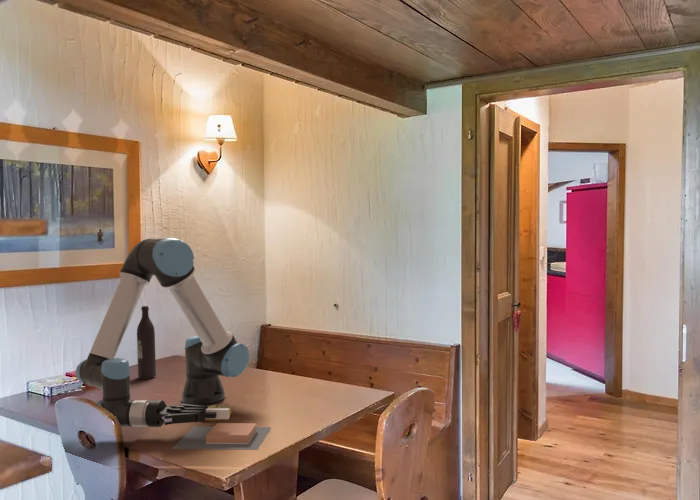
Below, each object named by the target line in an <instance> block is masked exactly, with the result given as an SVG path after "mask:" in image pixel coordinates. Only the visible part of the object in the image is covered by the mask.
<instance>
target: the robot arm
mask: <svg viewBox="0 0 700 500" xmlns="http://www.w3.org/2000/svg"><path fill="white" fill-rule="evenodd" d="M130 250H131V251H130V252H129V253H128V255H127V257H126V259H125V261H124V262H123V265H122V267H121V268H120V271H119V273H118V274H119V276H120V280H119V283H118V285H117V286H116V290H115V291H114V294H113V297H112V299H111V301H110V304H109V306H108V308H107V311H106V312H105V313H106V314H105V316H104V317H103V320H102V323H101V325H100V328H99V330H98V332H97V334H96V336H95V339H94V341H93V343H92V346H91V349H90V350H89V353H88V356H87V358H86V359H83V360H82V361H80V363H79V364H78V365H76V368H75V377H76V379H77V380H78V381H79V382H80V383H83V384H85V385H86V386H87V387H88V386H90V387H95V388H97V389H99V390H102V391H101V392H102V393H101V394H102V399H100V400H99V401H97V403H96V404H99V405H101V406H102V407H103V408H105V409H106V410H108V411H109V412H110V413H112V414H113V415H114V416H116V417H117V419H118V421H119V423H120V425H121V428H122V427H123V428H124V427H130V428H131V427H132V428H134V427H135V428H138V429H142V428H143V427H144V428H146V427H149V428H160V427H162V426H163V425H165V426H168V425H174V424H187V423H189V424H190V423H200V422H201V423H203V424H204V423H206V421H205V418H206V419H224V420H230V417H229V408H208V406H209V405H211V404H215V403H218V402H221V401H222V400H224V399H225V398H226V396H225V395H226V391H225V389H224V386H223V383H222V380H221V377H220V376H223V377H225V378H229V377H230V378H236V377H238V376H240V375H241V374H242V373H243V372H245V370H246V369H247V368H248V365H249V360H250V351H249V348H248V347H247V346H246V344H243V343H242V342H238V341H237V339H236V338H235V335H234V334H233V333H232V331H231V330H226V329H225V328H224V326H223V324H222V323H221V321H220V319H219V317H218V315H217V314H216V312H215V311H214V308H213V307H212V305H211V304H210V301H209V300H208V299H207V297H206V295H205V294H204V292H203V290H202V288H201V287H200V285H199V283H198V281H197V280H196V278H195V276H194V273H195V271H196V270H195V269H196V268H195V267H194V263H195V262H194V259H195V256H194V252H193V250H192V248H191V246H190V245H189V244H188V243H187V242H185V241H183V240H181V239H179V238H174V237H165V238H145V239H143V240H141V241H139V242H138V243H136V244H135V245H134V246H133V248H132V249H130ZM153 277H155V278H156V280H157V281H158V283H159V284H160V285H161V287H162V288H163V289H169V291H170V293H171V295H172V296H173V298H174V300H175V301H176V302H177V305H178V306H179V308H180V309H181V312H183V314H184V317H186V319H187V321H188V322H189V324H190V325H191V328H192V329H193V330H194V333H195V334H196V335H195V336H190V337H188V338H187V339H186V340H185V345H184V354H185V382H184V386H183V389H182V392H181V403H180V402H179V405H177V404H171V405H169V406H167V404H166V402H165V401H164V400H162V399H157V400H156V399H152V400H151V399H131V390H130V389H131V370H130V364H129V363H130V362H129V360H128V359H126V358H123V357H120V358H119V357H116V356H117V354H118V351H119V348H120V346H121V344H122V341H123V339H124V336H125V334H126V332H127V329H128V328H129V324H130V321H131V319H132V318H133V316H134V312H135V310H136V307H137V305H138V302H139V301H140V298H141V295H142V293H143V291H144V289H145V286H148V285H149V284H150V282H151V279H152V278H153Z"/></svg>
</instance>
